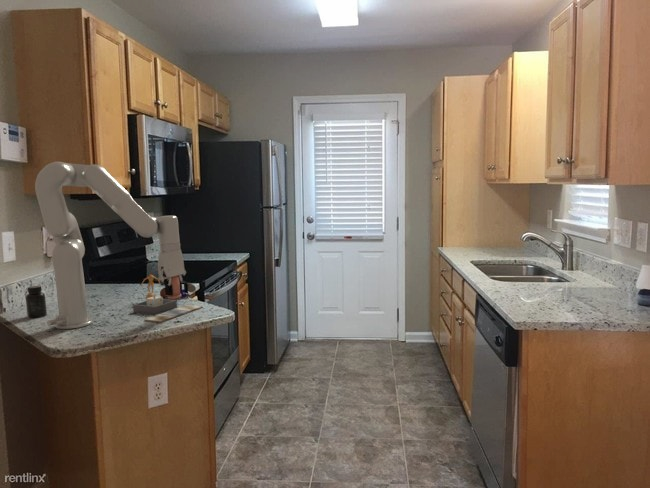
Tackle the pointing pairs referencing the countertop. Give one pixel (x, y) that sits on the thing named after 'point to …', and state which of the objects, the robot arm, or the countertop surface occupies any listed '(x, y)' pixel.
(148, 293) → the figurine
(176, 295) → the pink cylinder
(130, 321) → the countertop surface
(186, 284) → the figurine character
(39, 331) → the countertop surface
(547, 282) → the countertop surface
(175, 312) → the track
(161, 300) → the die
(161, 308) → the tray
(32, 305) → the supplement bottle
